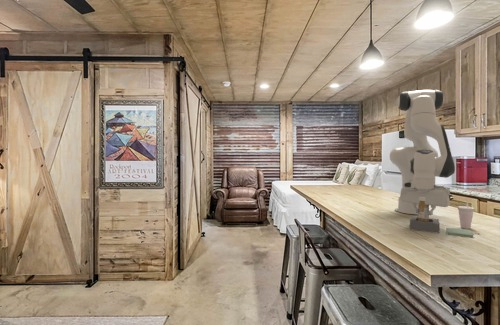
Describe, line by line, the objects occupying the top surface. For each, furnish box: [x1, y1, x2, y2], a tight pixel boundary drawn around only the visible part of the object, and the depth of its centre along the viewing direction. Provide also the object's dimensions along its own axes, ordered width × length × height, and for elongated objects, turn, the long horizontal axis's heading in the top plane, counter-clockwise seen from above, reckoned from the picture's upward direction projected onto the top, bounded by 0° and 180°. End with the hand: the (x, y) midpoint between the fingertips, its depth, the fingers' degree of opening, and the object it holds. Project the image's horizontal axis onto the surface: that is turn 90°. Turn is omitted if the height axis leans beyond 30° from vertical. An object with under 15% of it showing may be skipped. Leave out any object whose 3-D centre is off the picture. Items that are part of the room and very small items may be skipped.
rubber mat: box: [445, 227, 474, 238], centre depth 126 cm, size 9×9×1 cm
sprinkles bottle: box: [417, 197, 430, 222], centre depth 134 cm, size 5×5×14 cm
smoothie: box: [457, 197, 475, 230], centre depth 135 cm, size 6×6×14 cm
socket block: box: [409, 215, 441, 234], centre depth 134 cm, size 11×11×4 cm
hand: (423, 213), depth 135 cm, fingers closed on sprinkles bottle, 4 cm apart
